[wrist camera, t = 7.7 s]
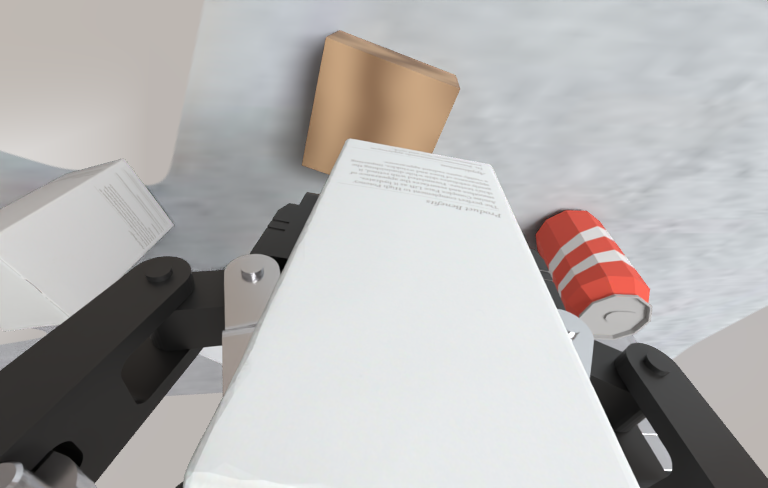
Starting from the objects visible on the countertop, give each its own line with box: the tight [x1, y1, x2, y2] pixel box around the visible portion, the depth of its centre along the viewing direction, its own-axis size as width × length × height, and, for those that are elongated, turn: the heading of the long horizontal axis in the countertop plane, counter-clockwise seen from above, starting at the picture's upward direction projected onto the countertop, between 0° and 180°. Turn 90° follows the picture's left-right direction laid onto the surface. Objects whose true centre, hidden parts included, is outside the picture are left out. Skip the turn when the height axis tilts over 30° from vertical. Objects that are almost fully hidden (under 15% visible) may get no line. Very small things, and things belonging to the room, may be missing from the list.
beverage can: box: [536, 210, 652, 340], centre depth 32 cm, size 6×6×12 cm
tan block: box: [302, 30, 460, 175], centre depth 29 cm, size 10×10×5 cm
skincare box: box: [183, 139, 640, 488], centre depth 10 cm, size 6×4×12 cm
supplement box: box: [0, 159, 174, 331], centre depth 34 cm, size 9×9×15 cm
